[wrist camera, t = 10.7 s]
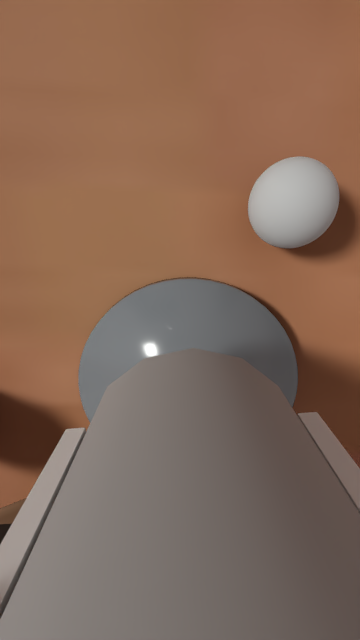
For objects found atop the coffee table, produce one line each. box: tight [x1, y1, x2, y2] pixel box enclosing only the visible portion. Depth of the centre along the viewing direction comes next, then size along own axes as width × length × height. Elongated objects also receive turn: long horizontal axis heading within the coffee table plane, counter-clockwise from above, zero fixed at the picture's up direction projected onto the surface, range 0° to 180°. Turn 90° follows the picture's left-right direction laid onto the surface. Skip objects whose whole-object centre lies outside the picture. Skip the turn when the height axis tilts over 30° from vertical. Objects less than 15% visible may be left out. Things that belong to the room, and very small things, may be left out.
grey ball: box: [248, 157, 339, 248], centre depth 13 cm, size 4×4×4 cm
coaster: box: [79, 277, 298, 423], centre depth 17 cm, size 12×12×1 cm
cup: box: [0, 348, 360, 640], centre depth 7 cm, size 8×8×10 cm
